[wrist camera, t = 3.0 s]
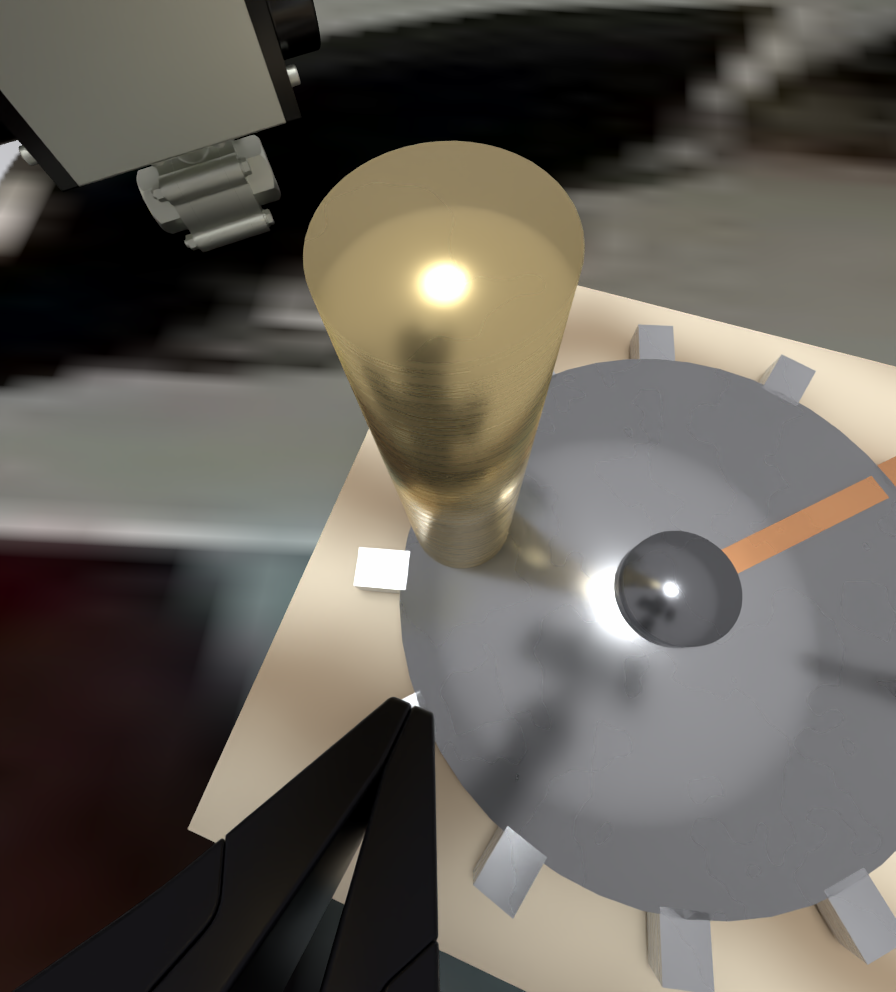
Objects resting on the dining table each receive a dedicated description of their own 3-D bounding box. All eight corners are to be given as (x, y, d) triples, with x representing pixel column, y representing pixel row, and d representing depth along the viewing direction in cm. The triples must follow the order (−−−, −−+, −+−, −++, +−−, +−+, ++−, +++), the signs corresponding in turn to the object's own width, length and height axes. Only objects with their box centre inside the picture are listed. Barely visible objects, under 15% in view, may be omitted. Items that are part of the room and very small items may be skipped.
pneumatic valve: (365, 216, 23) (260, -227, 12) (113, 298, 22) (-269, -92, 11) (330, 136, 25) (210, -316, 13) (96, 210, 24) (-249, -207, 12)
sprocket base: (992, 1191, 12) (1152, 1353, 9) (205, 819, 15) (144, 854, 13) (1012, 417, 18) (1111, 372, 16) (450, 270, 22) (446, 211, 19)
